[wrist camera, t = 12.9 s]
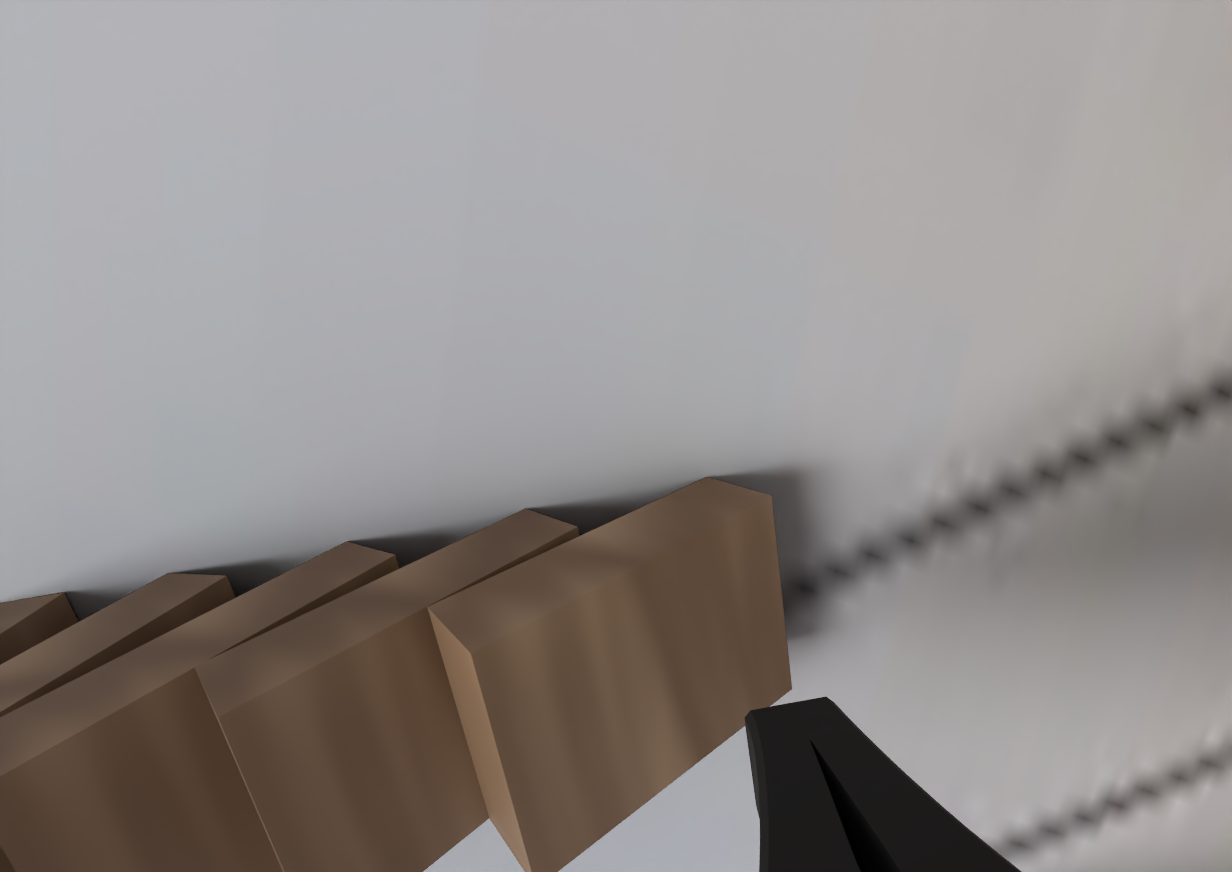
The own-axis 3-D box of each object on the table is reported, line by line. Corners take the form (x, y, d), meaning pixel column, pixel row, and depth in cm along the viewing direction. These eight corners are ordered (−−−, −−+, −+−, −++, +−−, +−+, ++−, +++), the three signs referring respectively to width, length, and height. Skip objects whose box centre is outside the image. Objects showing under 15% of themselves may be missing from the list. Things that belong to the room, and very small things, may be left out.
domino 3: (577, 526, 14) (218, 717, 9) (616, 715, 15) (320, 954, 11) (525, 508, 15) (194, 667, 11) (565, 682, 17) (286, 881, 12)
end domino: (772, 495, 14) (470, 653, 10) (791, 688, 15) (536, 888, 11) (706, 476, 15) (427, 606, 12) (730, 653, 17) (489, 818, 13)
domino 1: (226, 575, 14) (-243, 857, 8) (295, 750, 16) (-60, 1103, 10) (168, 573, 15) (-305, 831, 9) (239, 741, 17) (-126, 1062, 10)
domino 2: (395, 554, 14) (-30, 793, 9) (450, 737, 15) (113, 1034, 10) (346, 541, 15) (-54, 744, 10) (402, 712, 17) (78, 967, 11)
